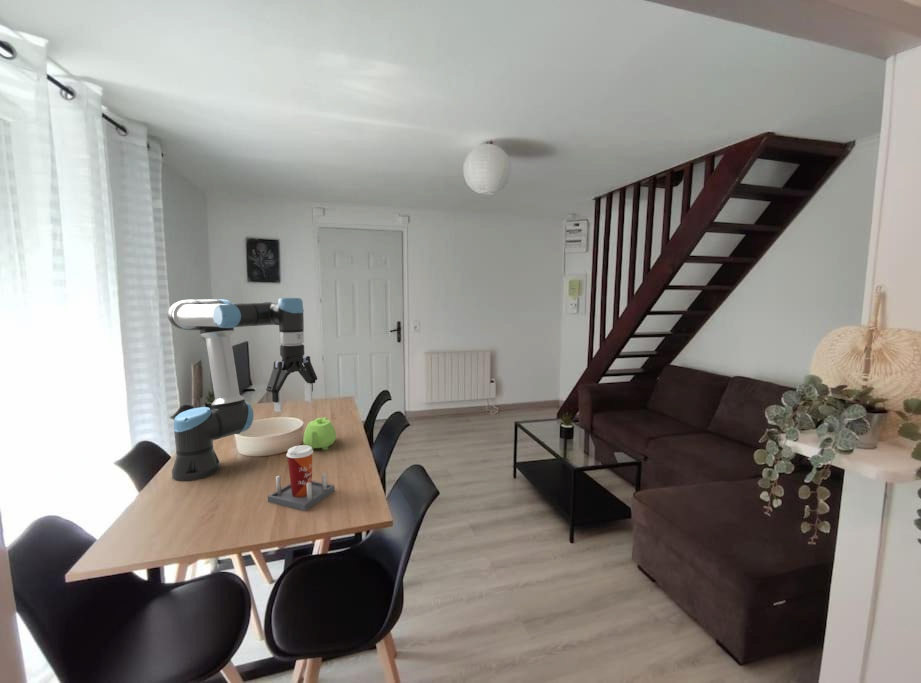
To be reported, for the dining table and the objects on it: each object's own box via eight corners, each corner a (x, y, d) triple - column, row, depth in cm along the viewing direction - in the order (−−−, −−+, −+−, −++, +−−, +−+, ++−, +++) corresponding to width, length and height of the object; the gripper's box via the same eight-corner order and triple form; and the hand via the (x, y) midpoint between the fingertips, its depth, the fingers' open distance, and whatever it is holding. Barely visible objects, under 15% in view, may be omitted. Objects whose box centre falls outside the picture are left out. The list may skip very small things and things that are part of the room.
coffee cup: (306, 500, 131) (304, 454, 129) (283, 497, 132) (280, 452, 131) (320, 488, 139) (318, 445, 137) (298, 485, 140) (296, 443, 139)
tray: (267, 502, 132) (266, 480, 131) (299, 483, 145) (298, 463, 144) (304, 511, 126) (303, 488, 126) (334, 491, 139) (333, 470, 139)
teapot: (330, 455, 170) (329, 425, 169) (296, 456, 170) (295, 426, 168) (340, 438, 190) (339, 411, 189) (311, 439, 189) (310, 412, 188)
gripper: (270, 349, 124) (272, 417, 127) (326, 341, 147) (327, 398, 150) (252, 348, 127) (255, 414, 130) (310, 339, 150) (311, 396, 153)
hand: (294, 406), depth 140 cm, fingers open, 13 cm apart
